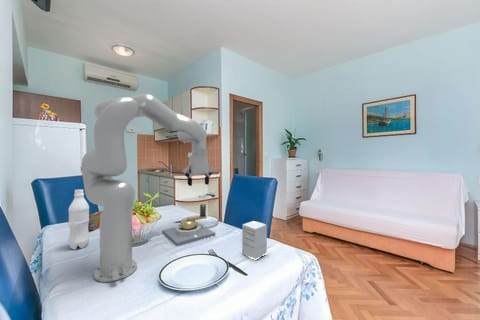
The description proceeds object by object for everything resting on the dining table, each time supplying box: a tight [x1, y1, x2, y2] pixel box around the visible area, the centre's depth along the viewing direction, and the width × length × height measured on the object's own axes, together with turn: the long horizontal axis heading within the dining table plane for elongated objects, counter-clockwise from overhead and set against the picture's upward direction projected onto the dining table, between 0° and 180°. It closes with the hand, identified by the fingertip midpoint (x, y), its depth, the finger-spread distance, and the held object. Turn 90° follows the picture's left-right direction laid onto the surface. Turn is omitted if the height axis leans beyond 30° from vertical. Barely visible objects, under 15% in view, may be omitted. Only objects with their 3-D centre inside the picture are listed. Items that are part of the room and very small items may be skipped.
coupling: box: [178, 203, 207, 231], centre depth 106 cm, size 14×7×12 cm, turn 124°
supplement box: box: [241, 220, 268, 259], centre depth 83 cm, size 7×7×13 cm
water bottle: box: [67, 188, 90, 250], centre depth 89 cm, size 7×7×25 cm
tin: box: [88, 210, 103, 231], centre depth 114 cm, size 15×3×8 cm, turn 179°
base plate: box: [161, 222, 216, 247], centre depth 105 cm, size 20×20×4 cm
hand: (198, 184), depth 109 cm, fingers open, 9 cm apart
